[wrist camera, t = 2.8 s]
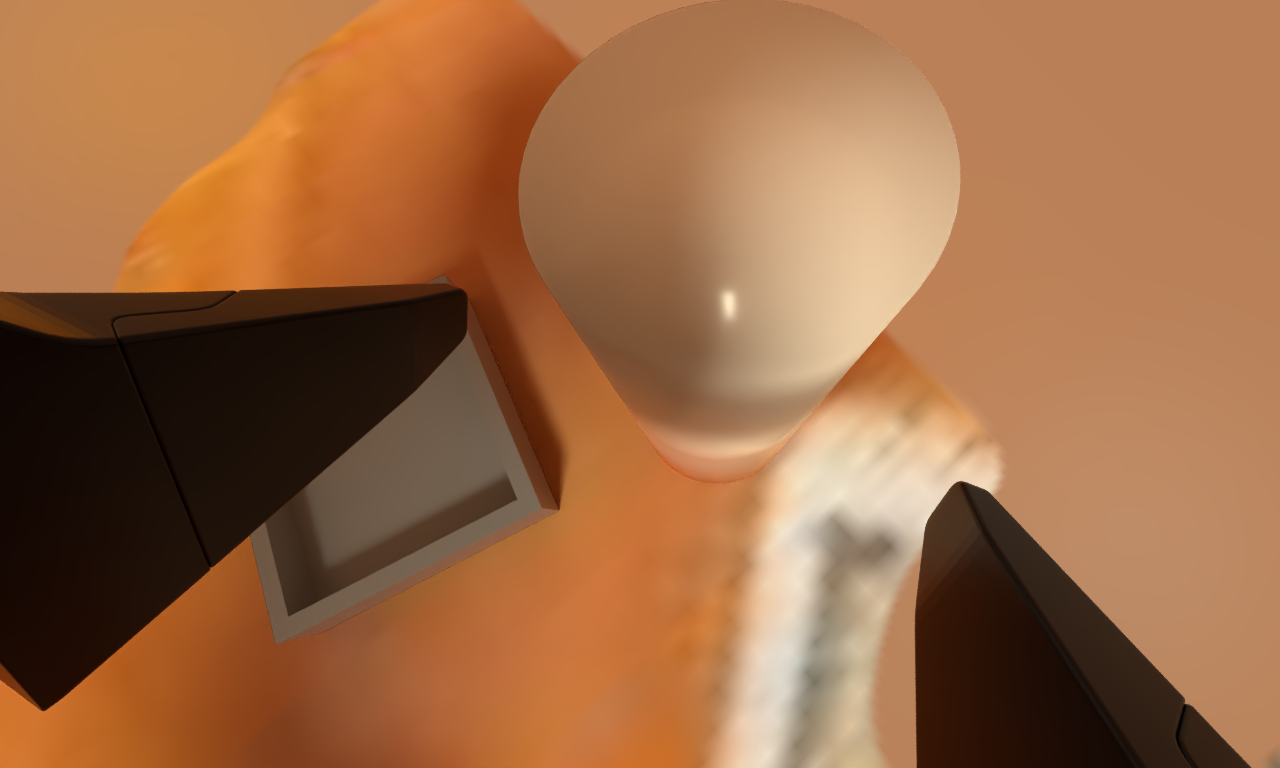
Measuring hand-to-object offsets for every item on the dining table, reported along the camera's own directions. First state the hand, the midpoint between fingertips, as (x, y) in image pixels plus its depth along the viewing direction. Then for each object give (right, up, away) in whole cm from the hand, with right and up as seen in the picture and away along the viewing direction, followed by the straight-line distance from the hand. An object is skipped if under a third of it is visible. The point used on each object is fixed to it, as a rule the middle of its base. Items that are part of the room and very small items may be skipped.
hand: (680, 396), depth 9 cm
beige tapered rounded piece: (+2, -1, +9) cm, 10 cm away
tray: (-10, -2, +10) cm, 14 cm away
